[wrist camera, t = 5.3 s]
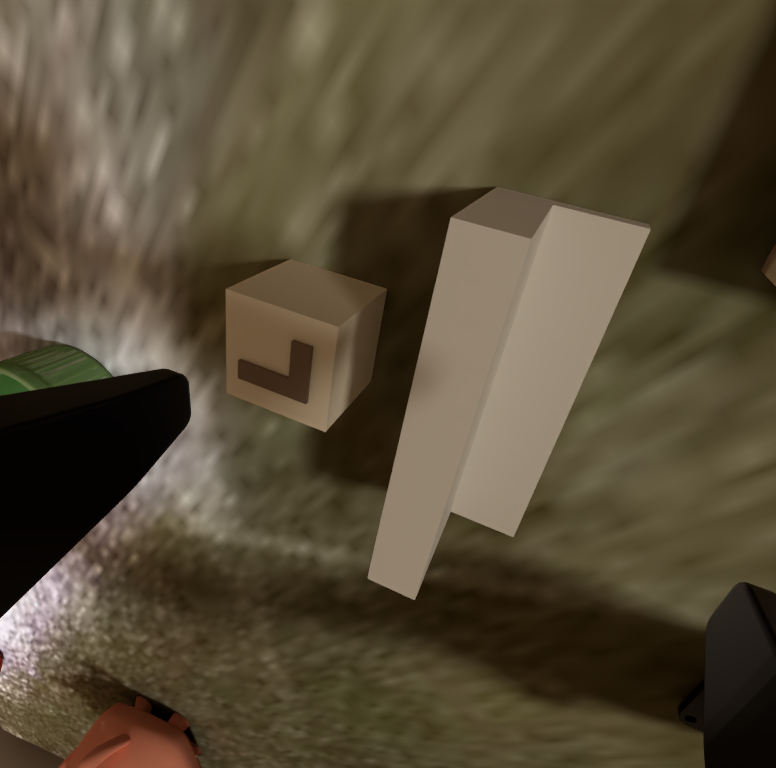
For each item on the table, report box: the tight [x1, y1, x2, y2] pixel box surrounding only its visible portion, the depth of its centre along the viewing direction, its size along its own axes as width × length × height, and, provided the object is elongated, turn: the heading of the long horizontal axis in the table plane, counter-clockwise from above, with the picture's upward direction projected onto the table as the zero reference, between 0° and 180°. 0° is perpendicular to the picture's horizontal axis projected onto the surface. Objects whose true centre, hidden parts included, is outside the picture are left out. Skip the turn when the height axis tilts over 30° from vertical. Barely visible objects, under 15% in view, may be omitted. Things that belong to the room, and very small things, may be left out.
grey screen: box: [367, 187, 651, 600], centre depth 18 cm, size 14×5×6 cm, turn 169°
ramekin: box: [0, 345, 113, 396], centre depth 30 cm, size 9×9×4 cm
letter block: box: [226, 259, 387, 432], centre depth 20 cm, size 4×4×5 cm
